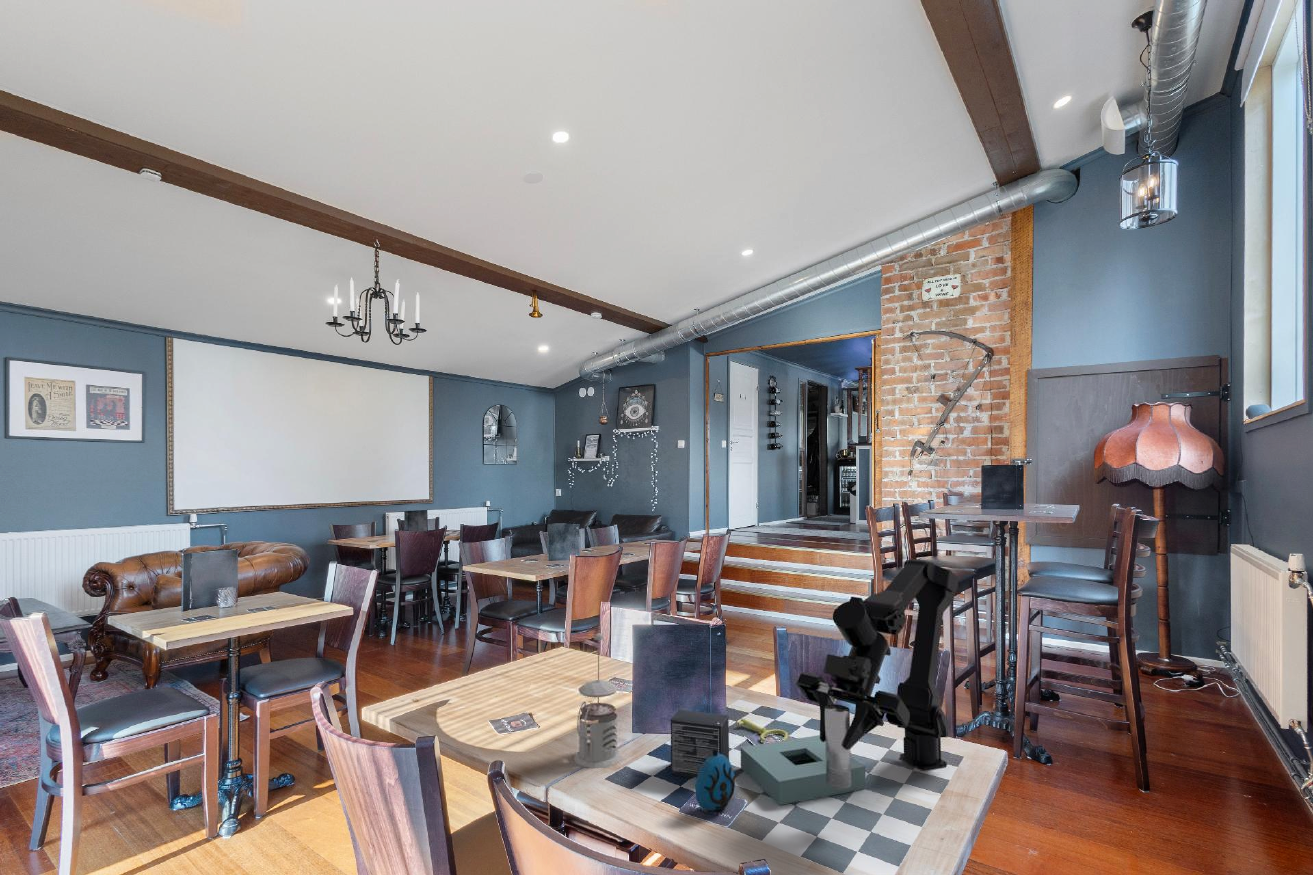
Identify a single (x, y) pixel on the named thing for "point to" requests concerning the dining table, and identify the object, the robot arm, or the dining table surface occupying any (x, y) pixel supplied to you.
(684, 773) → the small box
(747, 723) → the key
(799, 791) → the box
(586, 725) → the french press
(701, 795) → the ornament
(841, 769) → the tube
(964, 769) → the dining table surface
